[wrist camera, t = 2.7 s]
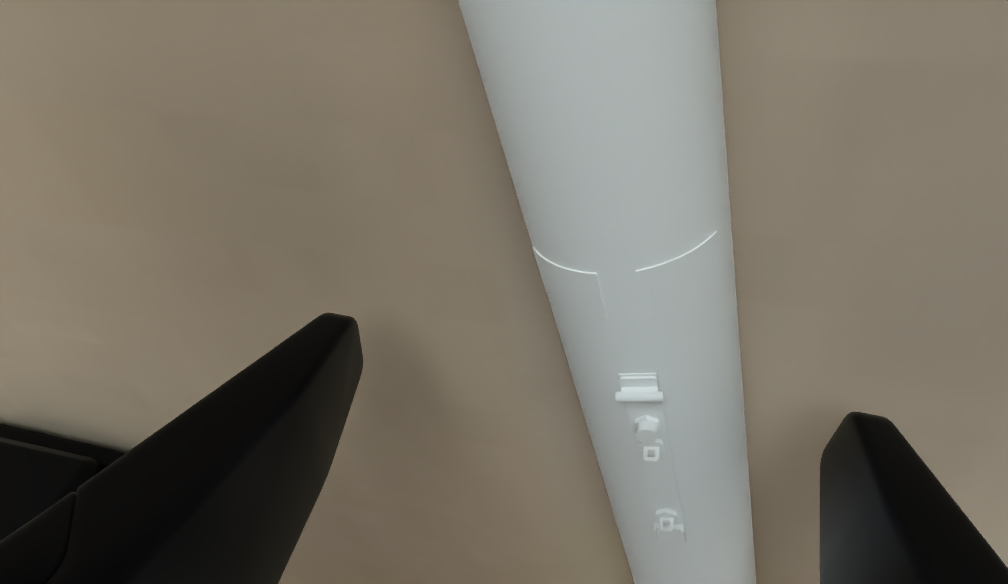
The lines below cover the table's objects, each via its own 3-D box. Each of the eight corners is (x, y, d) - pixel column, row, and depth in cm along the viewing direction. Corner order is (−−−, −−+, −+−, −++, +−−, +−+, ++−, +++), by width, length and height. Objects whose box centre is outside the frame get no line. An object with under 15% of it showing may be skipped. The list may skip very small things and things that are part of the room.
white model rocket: (300, -759, 4) (15, -1069, 2) (648, -1001, 3) (599, -1680, 2) (660, 602, 15) (655, 720, 13) (759, 611, 14) (767, 736, 13)
